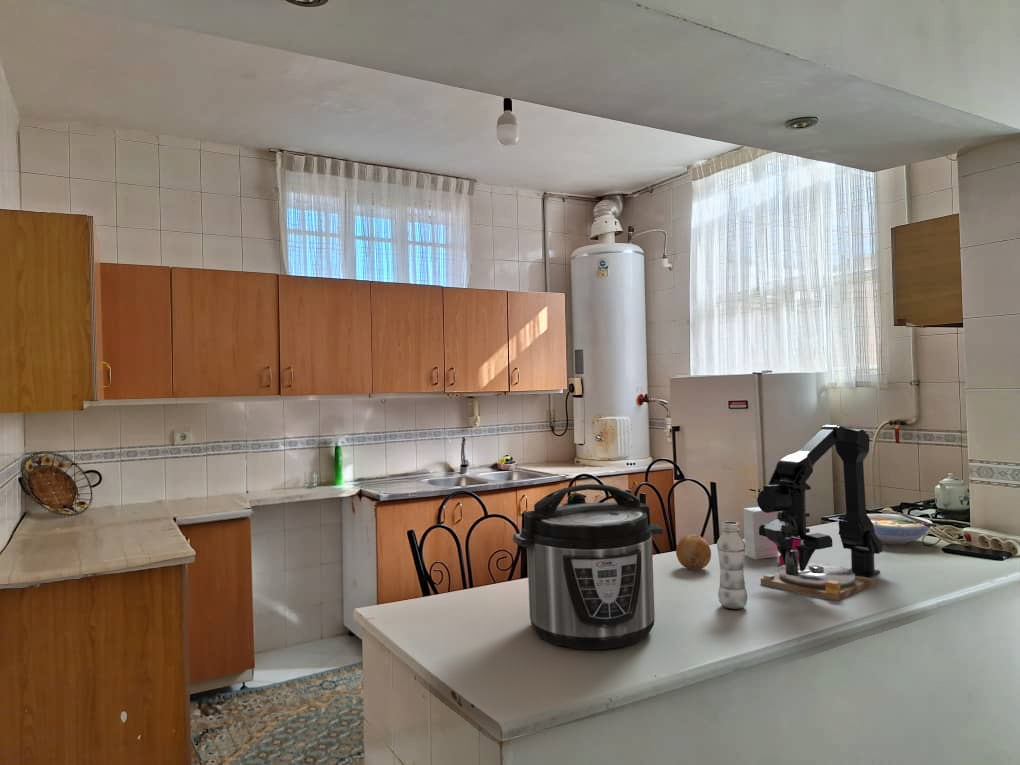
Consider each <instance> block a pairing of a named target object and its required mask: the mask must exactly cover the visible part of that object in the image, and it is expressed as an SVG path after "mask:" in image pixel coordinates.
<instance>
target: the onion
mask: <svg viewBox="0 0 1020 765" xmlns="http://www.w3.org/2000/svg"><path fill="white" fill-rule="evenodd" d="M675 555H676V557H677V560H678V562H679V564H680V565H682V566H683V568H686V569H687V570H692V571H696V570H697V571H698V570H702V569H704V568H705V567H707V566H708V564H709V563H710V562H711V559H712V550H711V546H710V544H709V542H708V541H707V540H706V539H705V538H703V537H702V536H701V535H699V534H696V533H695V534H694V533H692V534H688V535H685V536H682V537H681V538H680V539H679V540H678V542H677V544H676V550H675Z"/></svg>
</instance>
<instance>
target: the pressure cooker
mask: <svg viewBox="0 0 1020 765" xmlns="http://www.w3.org/2000/svg"><path fill="white" fill-rule="evenodd" d="M580 491H581V492H583V491H602V492H607V493H608V494H609V495H610V496H611V498H613V500H614V501H615V502H614V503H613V502H586V498H588V497H587V496H586V494H585V495H584V494H582V493H579V492H580ZM567 493H571V494H570V495H569V496H568V497H567V500H566V502H567V504H563V505H560V504H561V502H562V501H563V499H564V498H565V497H566V495H567ZM523 524H524V525H523V528H522V529H521V532H520V533H515V534H513V535H512V541H513V542H514V543H515V544H516V545H517V546H520V547H522V548H526V549H527V550H526V551H527V552H526V554H527V573H528V574H527V576H528V577H527V580H528V600H529V601H528V603H529V604H528V605H529V618H530V624H531V626H532V629H533V630H534V632H535V633H536V634H537V636H538V637H539V638H541V639H542V640H545V641H547V642H549V643H551V644H554V645H557V646H558V645H559V646H561V647H562V646H563V647H566V648H573V649H583V650H605V649H606V650H607V649H614V648H616V649H617V648H620V647H626V646H630V645H632V644H636V643H639V642H641V641H642V640H643V639H645V638H646V637H647V636H648V635H649V634H650V632H651V631H652V629H653V627H654V624H655V620H656V619H655V618H656V615H655V614H656V613H655V593H654V592H655V589H654V585H655V584H654V560H653V536H654V535H663V534H664V529H663V527H662V526H659V525H658V524H653V523H651V514H650V506H648V505H647V504H645V503H643V502H642V503H641V500H640V499H639V497H638V496H636V495H635V494H632V493H631V492H629V491H627V490H625V489H622V488H620V487H616V486H611V485H606V484H598V483H597V484H596V483H592V484H589V483H586V484H576V485H573V486H568V487H564V488H561V489H558V490H556V491H553V492H551V493H548V494H546V495H545V496H544V497H543V498H540V499H539V500H538V501H536V502H535V503H534V505H533V510H529V511H528V510H527V511H525V512H524V514H523Z"/></svg>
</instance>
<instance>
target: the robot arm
mask: <svg viewBox="0 0 1020 765" xmlns="http://www.w3.org/2000/svg"><path fill="white" fill-rule="evenodd" d="M870 440H871V437H870V435H869V434H868V433H867V432H866V431H865V430H864V429H856V428H855V429H854V428H853V429H851V428H845V427H843V426H840V425H837V424H833V425H832V424H825V425H822V426H821V428H820V430H819V431H818V432H817V433H816V434H815V435H814V436H813V437H812V438H811V439H810V440H809V441H808V442H807V443H806V444H804V445H803V446H802V447H801V449H799V450H798V451H796V452H794V453H791V454H788V455H785V456H784V457H783V458H781V459H779V460H778V462H777V463H776V466H775V469H774V470H773V474H772V475H771V477H770V479H769V482H768V484H764V485H763V486H762V488H763V489H762V490H761V491H759V493H758V496H757V498H756V501H757V507H759V508H760V509H761V510H762V511H763V512H765V513H771V512H778V513H777V519H776V520H774V521H772V522H771V523H767V524H761V526H760V527H759V535H761V536H765V537H767V538H768V539H770V541H772V542H774V543H775V544H776V545H777V546H778V549H779V551H780V553H781V554H780V553H779V554H780V555H781V556H782V559H783V561H784V564H785V566H786V561H785V550H787V549H792V545H793V539H796V540H800V541H801V545H797V546H795V547H796V548H797V549H798V551H799V566H800V571H804V570H805V568H806V566H807V564H808V563H810V559H811V558H812V556H813V554H814V553H815V551H817V550H823V549H827V548H833V538H832V537H831V536H830V535H829V534H824V533H820V532H815V533H810V532H811V531H810V528H809V527H807V517H808V518H809V517H810V512H808V511H806V510H807V509H806V508H807V503H806V499H807V498H806V495H807V494H806V492H807V491H809V490H811V489H812V486H810V485H809V484H808V483H807V481H808V479H809V478H810V477H811V475H812V473H814V465H815V464H816V463H817V462H818V461H819V460H820V459H821V458H822V457H823V456H824V455H825V454H826V453H828V452H829V450H830V449H831V448H832V447H835V451H836V454H837V455H838V456H839V458H840V459H841V461H842V466H843V468H842V469H843V484H844V485H843V486H844V500H845V515H844V516H843V517H842V519H840V520H839V521H838V524H837V525H838V535H839V538H840V540H841V544H842V547H843V549H847V550H850V557H851V558H850V562H851V564H850V565H851V566H850V567H851V568H849V570H851V571H852V572H854V574H855V575H859V576H860V575H861V576H865V577H872V576H875V575H877V574H879V573H881V570H879V569H875V555H877V554H879V555H880V553H882V552H883V547H884V543H882V542H881V541H880V540H879V538H878V537H877V536H876V534H875V531H874V526H873V523H872V521H871V520H870V518H869V517H868V516H867V514H868V513H867V506H866V488H865V474H864V473H865V470H864V461H865V459H866V457H868V456H867V455H868V454H869V453H870V442H871V441H870ZM779 511H781V512H779ZM808 533H809V534H808ZM798 536H799V537H798ZM784 564H783V565H784Z"/></svg>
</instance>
